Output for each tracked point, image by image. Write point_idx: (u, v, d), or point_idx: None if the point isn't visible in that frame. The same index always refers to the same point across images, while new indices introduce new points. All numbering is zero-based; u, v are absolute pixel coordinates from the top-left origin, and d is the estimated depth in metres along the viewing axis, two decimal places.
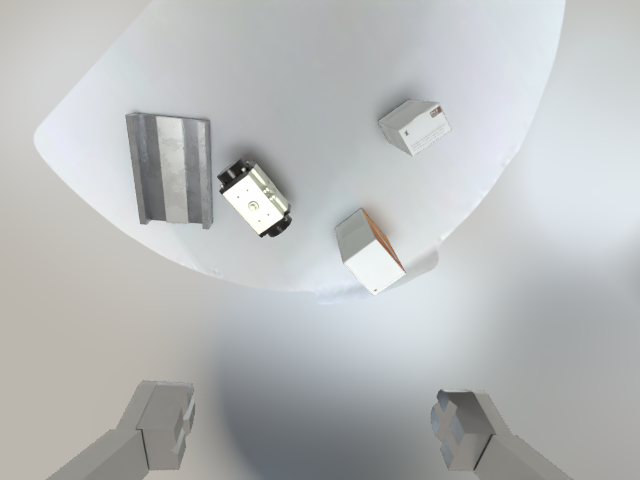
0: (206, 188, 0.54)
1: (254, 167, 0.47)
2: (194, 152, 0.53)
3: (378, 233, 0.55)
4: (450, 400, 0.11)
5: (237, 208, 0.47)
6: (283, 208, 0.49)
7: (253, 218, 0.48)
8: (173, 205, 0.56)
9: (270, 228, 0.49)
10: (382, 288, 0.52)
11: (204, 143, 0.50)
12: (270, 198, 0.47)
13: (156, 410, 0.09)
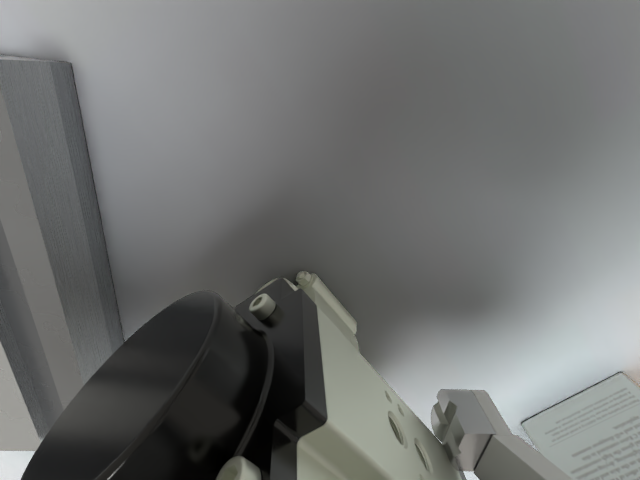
0: (77, 368, 0.12)
1: (326, 390, 0.06)
2: None
3: None
4: (450, 400, 0.11)
5: None
6: None
7: None
8: None
9: None
10: None
11: (22, 181, 0.09)
12: None
13: None
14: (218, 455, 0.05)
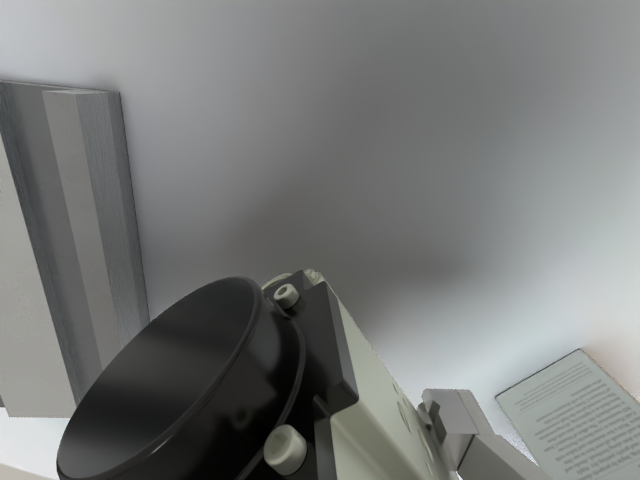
0: (117, 336, 0.15)
1: (355, 374, 0.06)
2: None
3: None
4: (434, 400, 0.11)
5: None
6: None
7: None
8: (21, 374, 0.17)
9: None
10: None
11: (87, 183, 0.12)
12: None
13: None
14: (262, 425, 0.05)
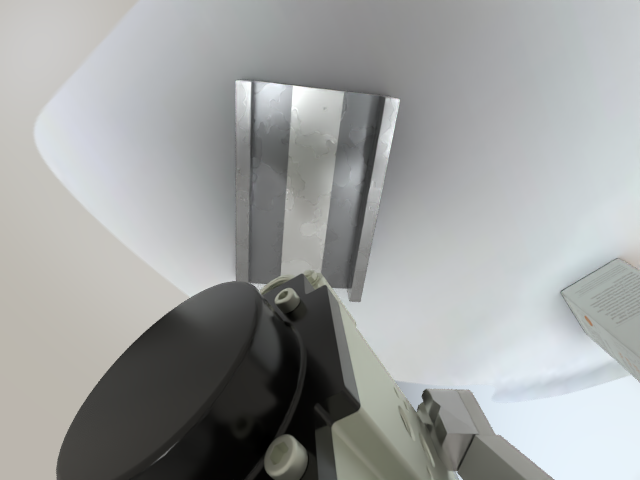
0: (372, 231, 0.27)
1: (356, 381, 0.06)
2: (353, 160, 0.27)
3: None
4: (434, 400, 0.11)
5: None
6: None
7: None
8: (297, 259, 0.30)
9: None
10: None
11: (389, 143, 0.24)
12: None
13: None
14: (263, 434, 0.05)
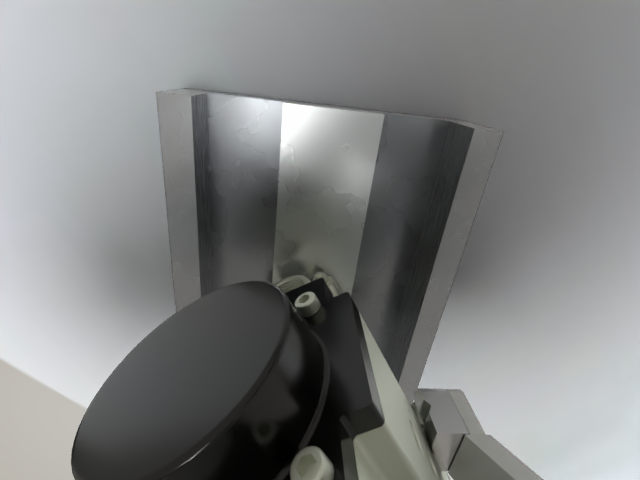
0: (424, 355, 0.15)
1: (379, 394, 0.06)
2: (392, 234, 0.15)
3: None
4: (425, 399, 0.11)
5: None
6: None
7: None
8: None
9: None
10: None
11: (471, 214, 0.12)
12: None
13: None
14: (287, 442, 0.05)
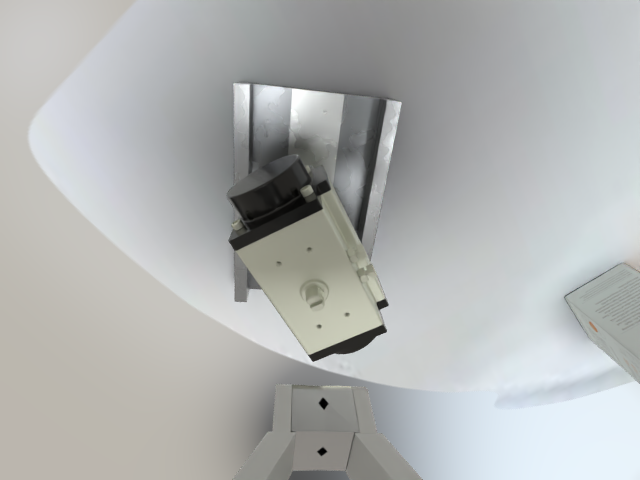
0: (373, 236, 0.27)
1: (330, 187, 0.18)
2: (353, 164, 0.26)
3: None
4: (324, 397, 0.10)
5: (270, 291, 0.17)
6: (376, 295, 0.20)
7: (306, 318, 0.18)
8: None
9: (341, 345, 0.19)
10: None
11: (390, 146, 0.24)
12: (363, 277, 0.17)
13: (302, 413, 0.10)
14: (299, 188, 0.17)
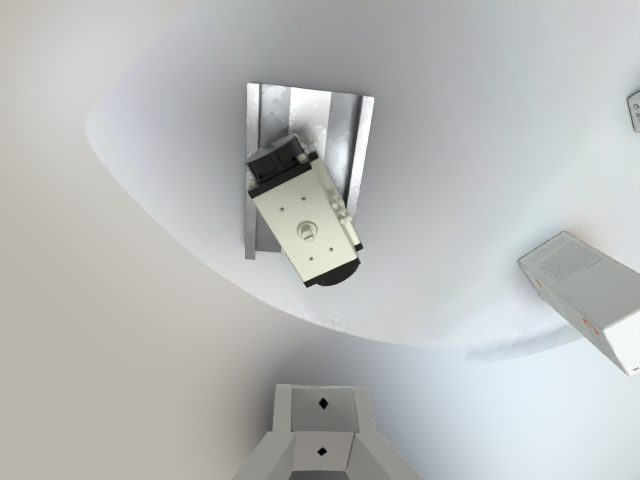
0: (355, 204, 0.34)
1: (319, 156, 0.25)
2: (339, 147, 0.33)
3: None
4: (324, 397, 0.10)
5: (275, 230, 0.24)
6: (354, 239, 0.27)
7: (301, 252, 0.25)
8: None
9: (327, 274, 0.26)
10: None
11: (367, 132, 0.31)
12: (342, 220, 0.24)
13: (302, 413, 0.10)
14: (296, 156, 0.24)
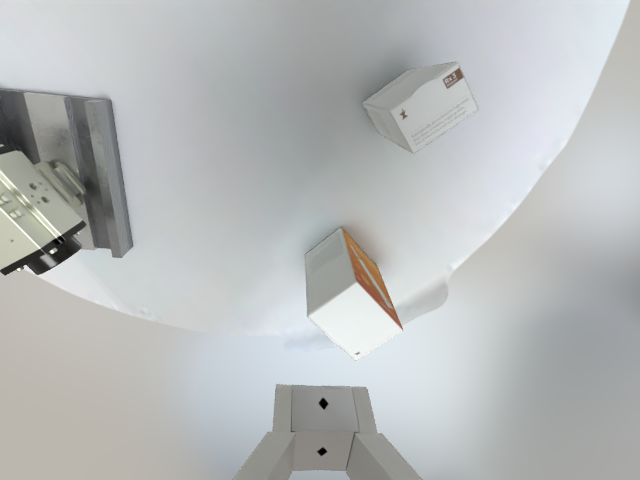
0: (111, 200, 0.37)
1: None
2: (91, 148, 0.36)
3: (363, 266, 0.38)
4: (324, 397, 0.10)
5: None
6: (53, 232, 0.30)
7: None
8: None
9: (19, 263, 0.29)
10: (367, 350, 0.35)
11: (99, 134, 0.33)
12: (12, 214, 0.27)
13: (302, 413, 0.10)
14: None
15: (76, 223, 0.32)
